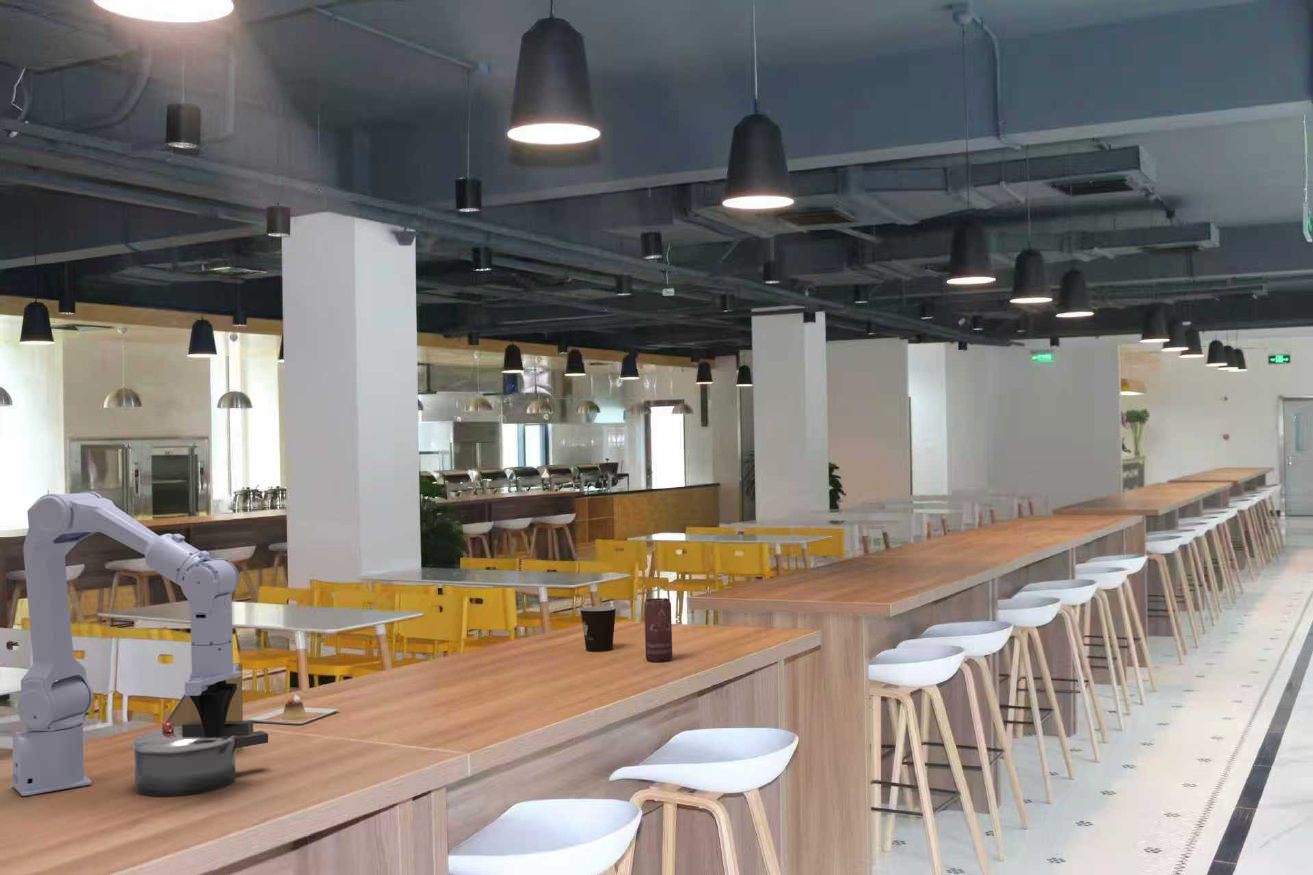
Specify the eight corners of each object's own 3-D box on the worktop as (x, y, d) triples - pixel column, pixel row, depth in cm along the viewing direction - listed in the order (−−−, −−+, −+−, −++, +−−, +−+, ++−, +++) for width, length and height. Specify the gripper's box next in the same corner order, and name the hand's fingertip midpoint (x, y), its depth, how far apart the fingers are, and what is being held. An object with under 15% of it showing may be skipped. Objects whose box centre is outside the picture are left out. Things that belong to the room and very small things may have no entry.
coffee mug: (616, 652, 290) (614, 610, 290) (580, 653, 290) (579, 611, 291) (618, 644, 302) (617, 604, 302) (583, 645, 302) (582, 605, 302)
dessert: (246, 725, 223) (246, 699, 223) (287, 711, 234) (287, 687, 234) (301, 728, 219) (300, 702, 219) (340, 714, 230) (339, 689, 230)
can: (678, 658, 278) (676, 598, 278) (663, 663, 273) (661, 601, 273) (655, 657, 281) (654, 596, 282) (640, 661, 276) (639, 600, 276)
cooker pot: (150, 802, 171) (149, 759, 171) (124, 782, 182) (123, 742, 182) (282, 777, 183) (281, 737, 183) (250, 760, 194) (249, 722, 194)
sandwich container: (186, 742, 209) (184, 655, 209) (245, 752, 200) (243, 661, 201) (142, 753, 201) (140, 663, 202) (201, 764, 193) (198, 670, 193)
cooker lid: (114, 754, 174) (114, 735, 174) (159, 731, 188) (159, 713, 189) (232, 752, 173) (231, 732, 173) (268, 729, 188) (268, 711, 188)
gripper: (218, 650, 170) (220, 747, 169) (257, 634, 184) (259, 723, 184) (169, 651, 170) (171, 747, 170) (211, 635, 184) (214, 724, 184)
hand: (214, 735), depth 177 cm, fingers closed
